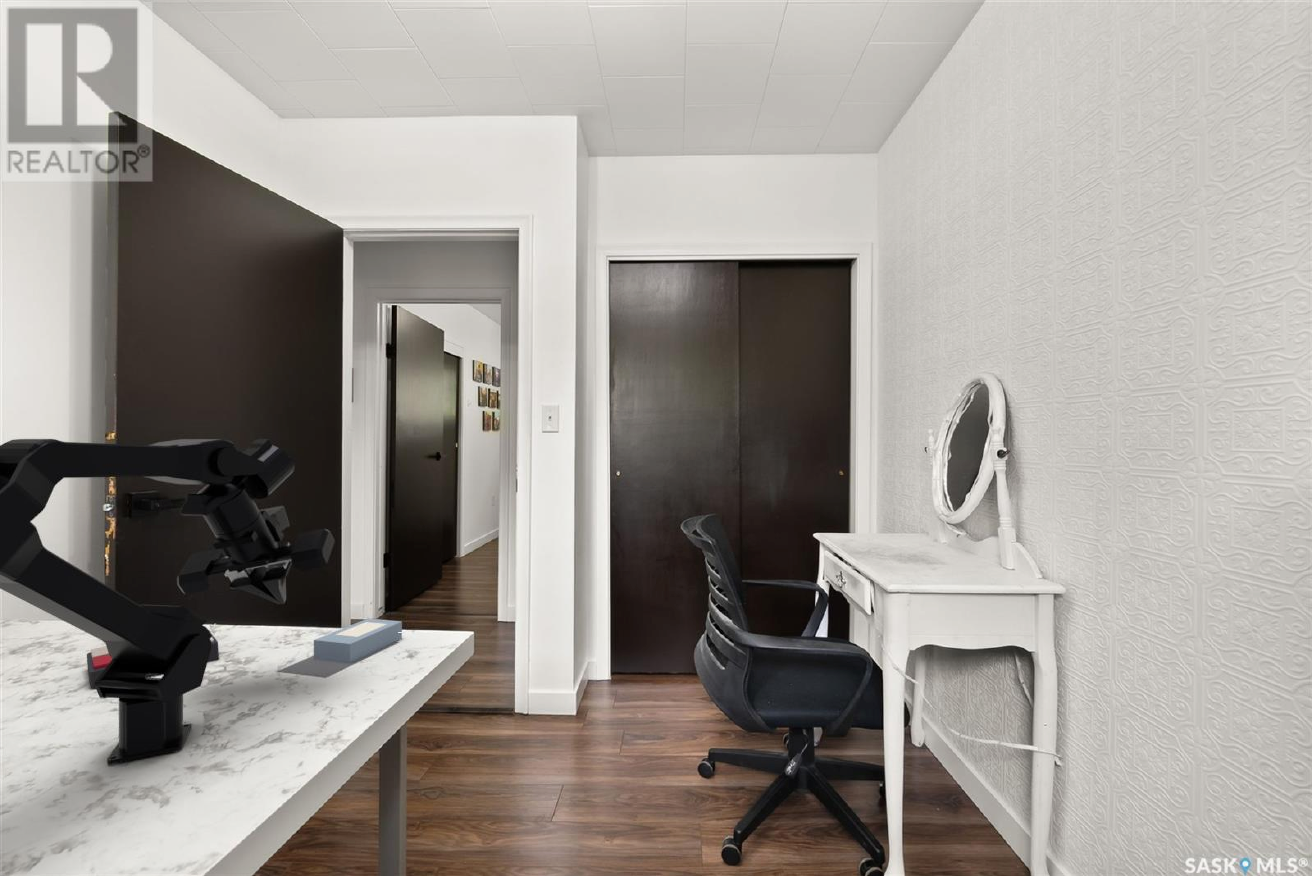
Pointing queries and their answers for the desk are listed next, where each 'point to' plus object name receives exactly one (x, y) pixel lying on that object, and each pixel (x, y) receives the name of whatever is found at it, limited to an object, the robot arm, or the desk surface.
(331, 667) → the mat
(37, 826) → the desk surface
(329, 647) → the card box
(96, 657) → the calculator
